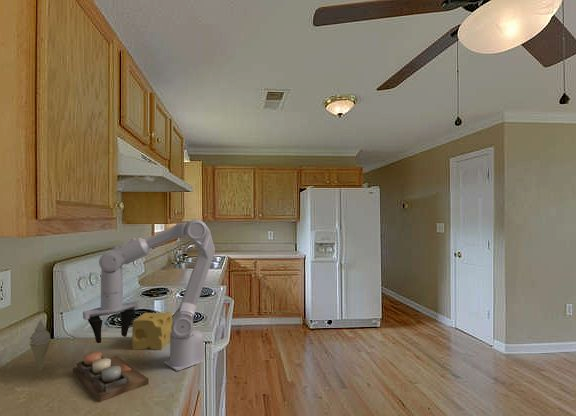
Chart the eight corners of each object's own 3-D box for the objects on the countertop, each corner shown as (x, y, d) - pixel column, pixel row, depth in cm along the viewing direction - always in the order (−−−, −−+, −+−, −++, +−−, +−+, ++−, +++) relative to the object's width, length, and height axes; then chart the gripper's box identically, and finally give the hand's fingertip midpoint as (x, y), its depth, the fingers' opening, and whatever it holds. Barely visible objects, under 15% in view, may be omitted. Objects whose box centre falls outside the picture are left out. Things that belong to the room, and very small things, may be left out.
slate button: (116, 371, 95) (116, 364, 95) (123, 377, 92) (123, 369, 92) (99, 377, 92) (99, 369, 92) (105, 383, 89) (105, 375, 89)
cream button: (107, 364, 100) (107, 357, 100) (113, 369, 97) (113, 361, 97) (90, 369, 97) (90, 361, 97) (95, 374, 94) (95, 366, 94)
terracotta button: (98, 357, 105) (98, 350, 105) (103, 361, 102) (103, 354, 102) (81, 361, 101) (81, 354, 101) (86, 366, 98) (87, 359, 98)
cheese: (162, 350, 118) (162, 320, 118) (130, 350, 118) (130, 320, 119) (172, 339, 129) (172, 311, 129) (143, 339, 129) (143, 311, 129)
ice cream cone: (47, 365, 107) (47, 315, 107) (53, 369, 103) (53, 318, 104) (27, 370, 103) (27, 319, 103) (32, 375, 100) (33, 322, 100)
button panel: (116, 360, 110) (116, 350, 110) (148, 384, 95) (148, 372, 95) (72, 373, 101) (72, 362, 101) (100, 401, 86) (100, 389, 86)
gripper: (131, 286, 111) (131, 329, 110) (79, 293, 100) (79, 342, 100) (141, 289, 106) (140, 335, 106) (87, 298, 95) (87, 348, 95)
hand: (111, 339), depth 102 cm, fingers open, 6 cm apart
